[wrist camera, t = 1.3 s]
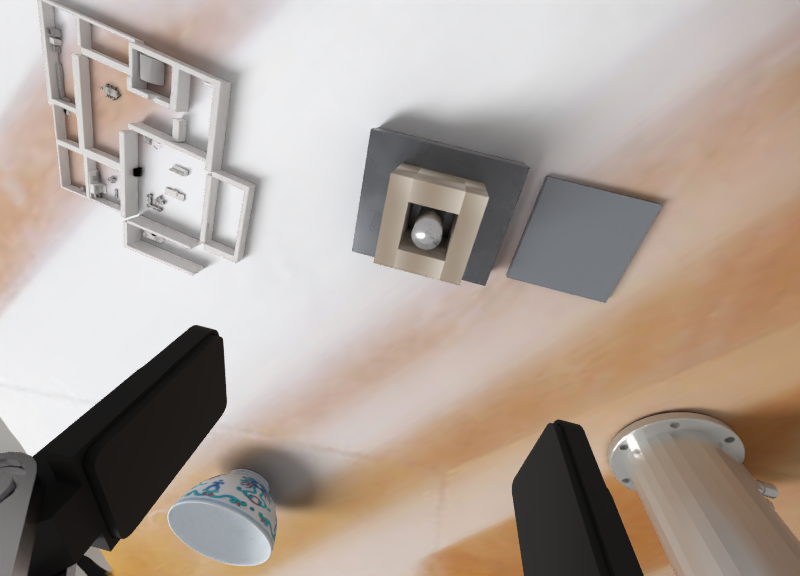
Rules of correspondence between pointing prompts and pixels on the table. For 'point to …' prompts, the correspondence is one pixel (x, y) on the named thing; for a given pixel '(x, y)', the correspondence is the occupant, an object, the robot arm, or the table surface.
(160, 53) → the floor plan model
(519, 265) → the mat
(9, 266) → the table surface
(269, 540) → the chinaware
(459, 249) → the collar
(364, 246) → the post stand
